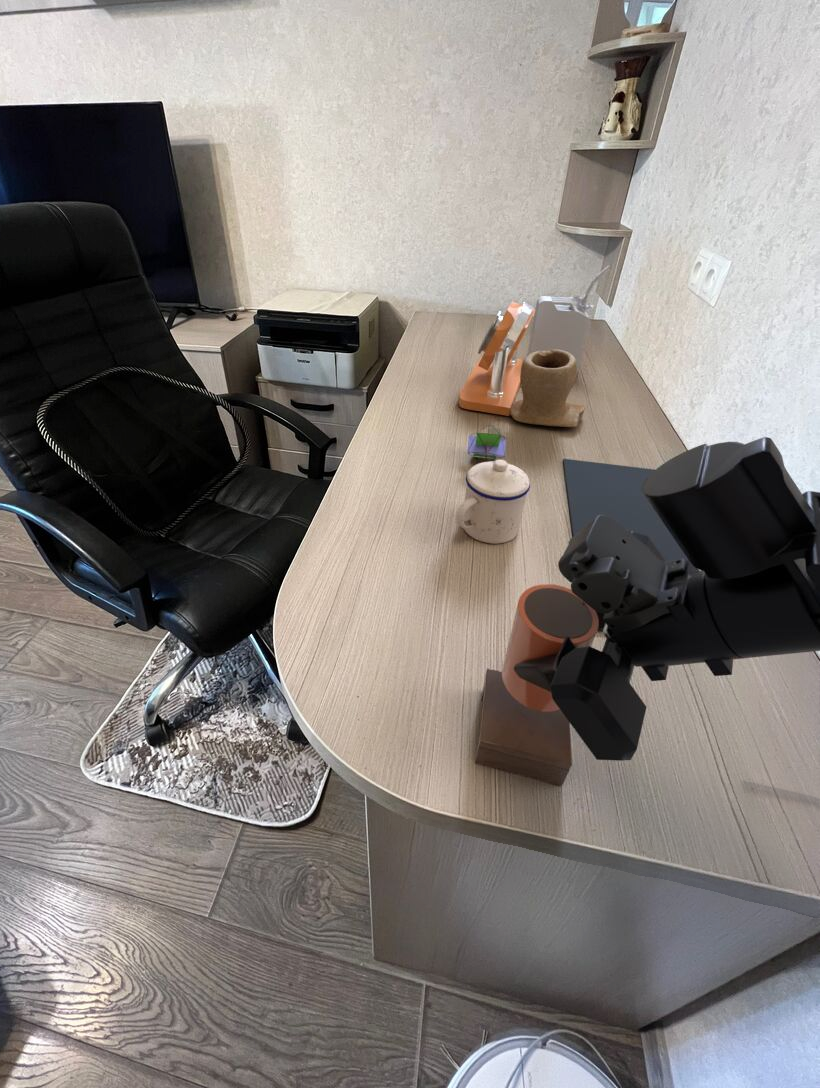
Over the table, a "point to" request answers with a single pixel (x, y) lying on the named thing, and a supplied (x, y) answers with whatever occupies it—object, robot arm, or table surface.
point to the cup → (545, 637)
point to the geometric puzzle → (487, 443)
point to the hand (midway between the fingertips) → (530, 644)
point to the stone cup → (547, 390)
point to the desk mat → (616, 502)
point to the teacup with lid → (493, 501)
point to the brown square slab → (522, 736)
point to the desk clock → (498, 364)
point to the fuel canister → (562, 323)
